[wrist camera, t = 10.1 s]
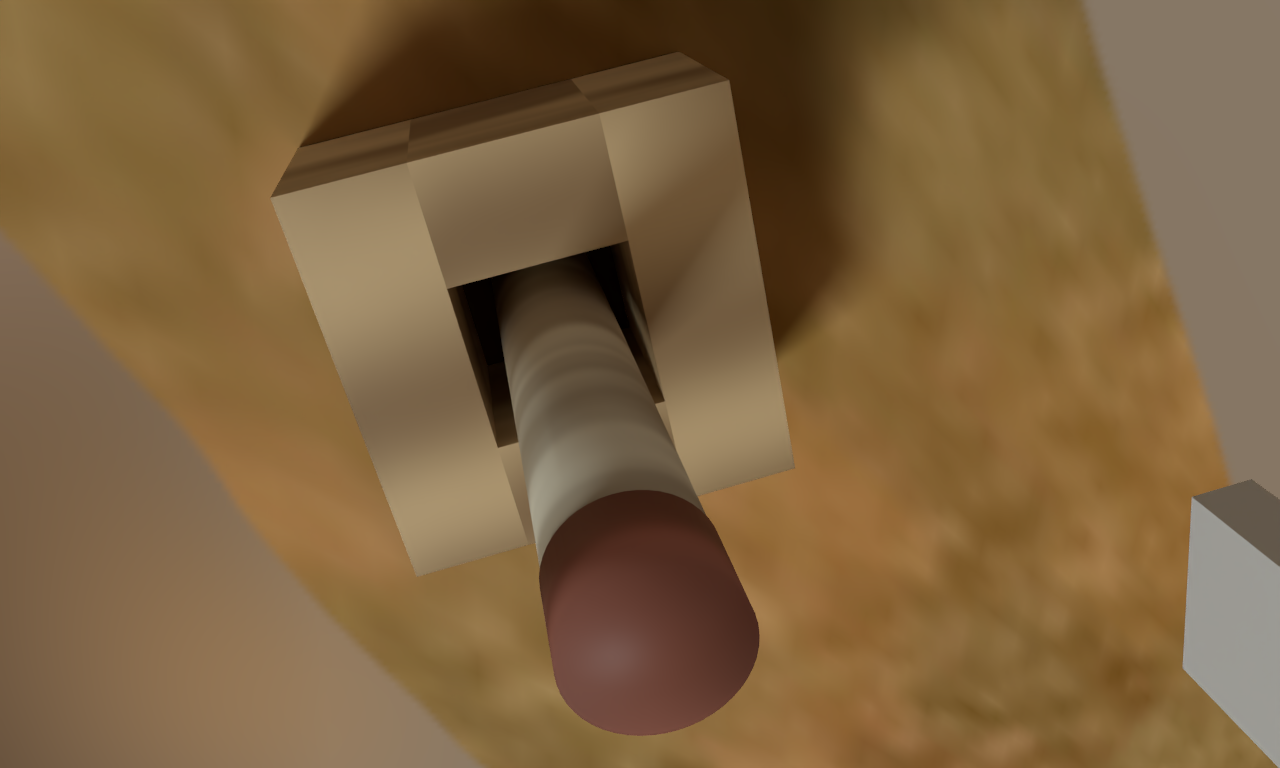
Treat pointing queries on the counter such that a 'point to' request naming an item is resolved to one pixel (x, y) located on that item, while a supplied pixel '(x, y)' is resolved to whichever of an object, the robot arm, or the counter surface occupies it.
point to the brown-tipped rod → (615, 518)
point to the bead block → (523, 237)
